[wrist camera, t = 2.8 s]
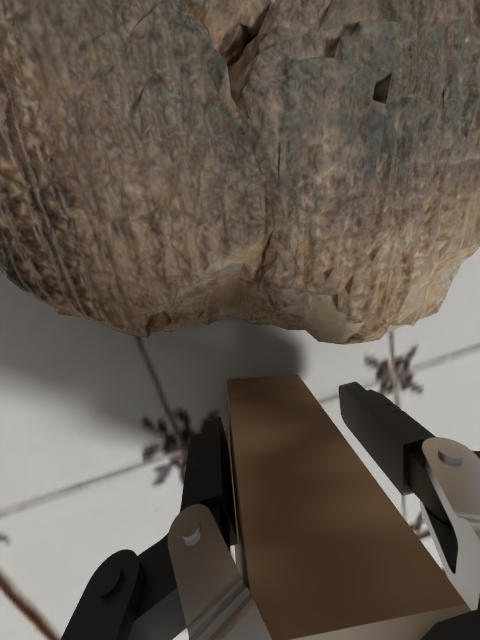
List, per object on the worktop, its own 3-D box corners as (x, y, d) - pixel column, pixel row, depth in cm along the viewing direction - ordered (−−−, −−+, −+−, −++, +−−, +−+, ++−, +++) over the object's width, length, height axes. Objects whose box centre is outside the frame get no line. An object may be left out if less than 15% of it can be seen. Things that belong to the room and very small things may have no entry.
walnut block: (298, 374, 12) (492, 638, 4) (292, 460, 14) (419, 783, 5) (226, 379, 12) (261, 691, 3) (228, 467, 14) (256, 832, 5)
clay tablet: (25, 339, 11) (413, 322, 12) (-131, 400, 6) (534, 358, 8) (-84, -75, 7) (473, -12, 9) (-673, -744, 2) (756, -316, 4)
